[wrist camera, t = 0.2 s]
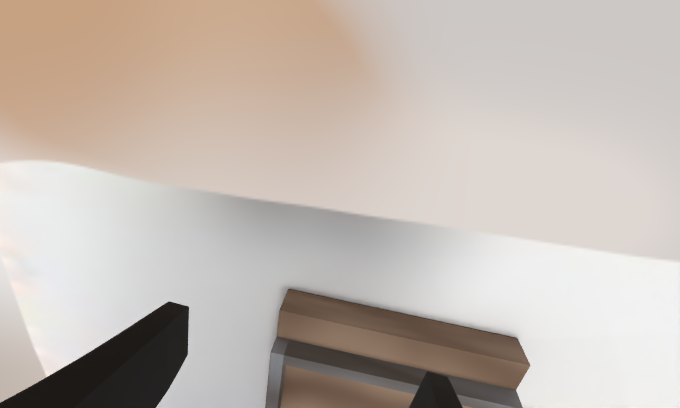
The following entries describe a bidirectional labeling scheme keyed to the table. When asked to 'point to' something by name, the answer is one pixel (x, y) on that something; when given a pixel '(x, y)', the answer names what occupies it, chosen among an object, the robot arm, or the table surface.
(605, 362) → the table surface
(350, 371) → the dock
